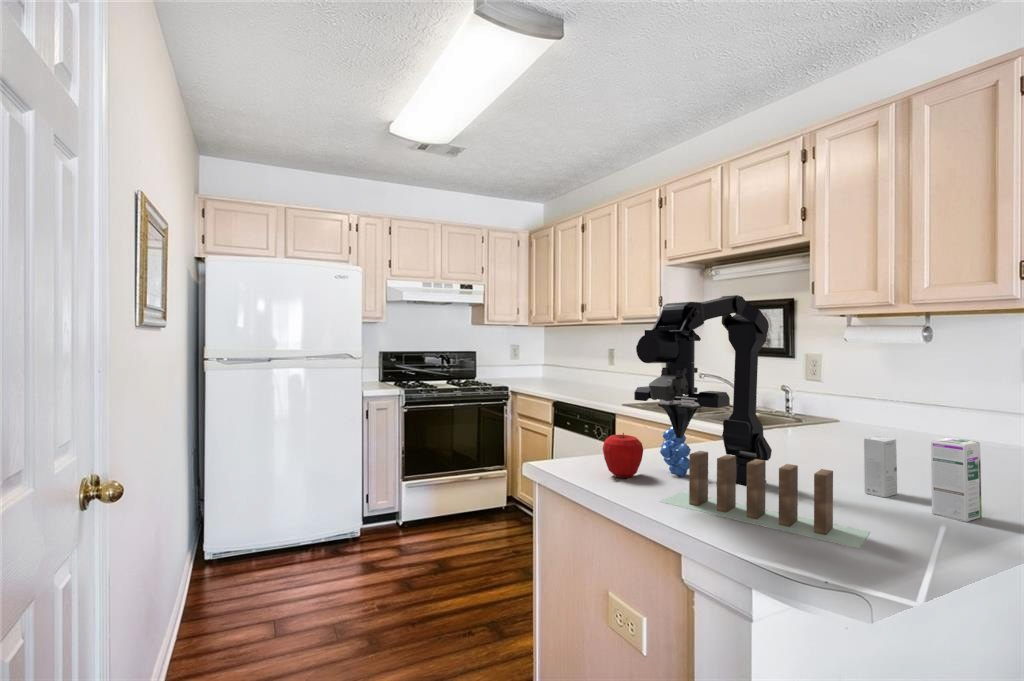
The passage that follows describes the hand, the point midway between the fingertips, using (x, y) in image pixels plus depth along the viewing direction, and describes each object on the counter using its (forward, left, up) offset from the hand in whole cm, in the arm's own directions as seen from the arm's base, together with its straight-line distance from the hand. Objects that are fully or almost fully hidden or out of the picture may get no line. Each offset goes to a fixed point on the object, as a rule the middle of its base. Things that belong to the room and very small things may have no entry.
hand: (679, 438), depth 107 cm
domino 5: (0, +26, -12) cm, 29 cm away
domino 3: (0, +15, -12) cm, 20 cm away
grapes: (-19, -11, -13) cm, 26 cm away
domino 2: (0, +10, -12) cm, 16 cm away
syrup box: (-29, +42, -13) cm, 53 cm away
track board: (0, +15, -13) cm, 20 cm away
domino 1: (0, +4, -12) cm, 13 cm away
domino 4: (0, +21, -12) cm, 24 cm away
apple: (-9, -19, -13) cm, 25 cm away
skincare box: (-37, +29, -13) cm, 49 cm away
